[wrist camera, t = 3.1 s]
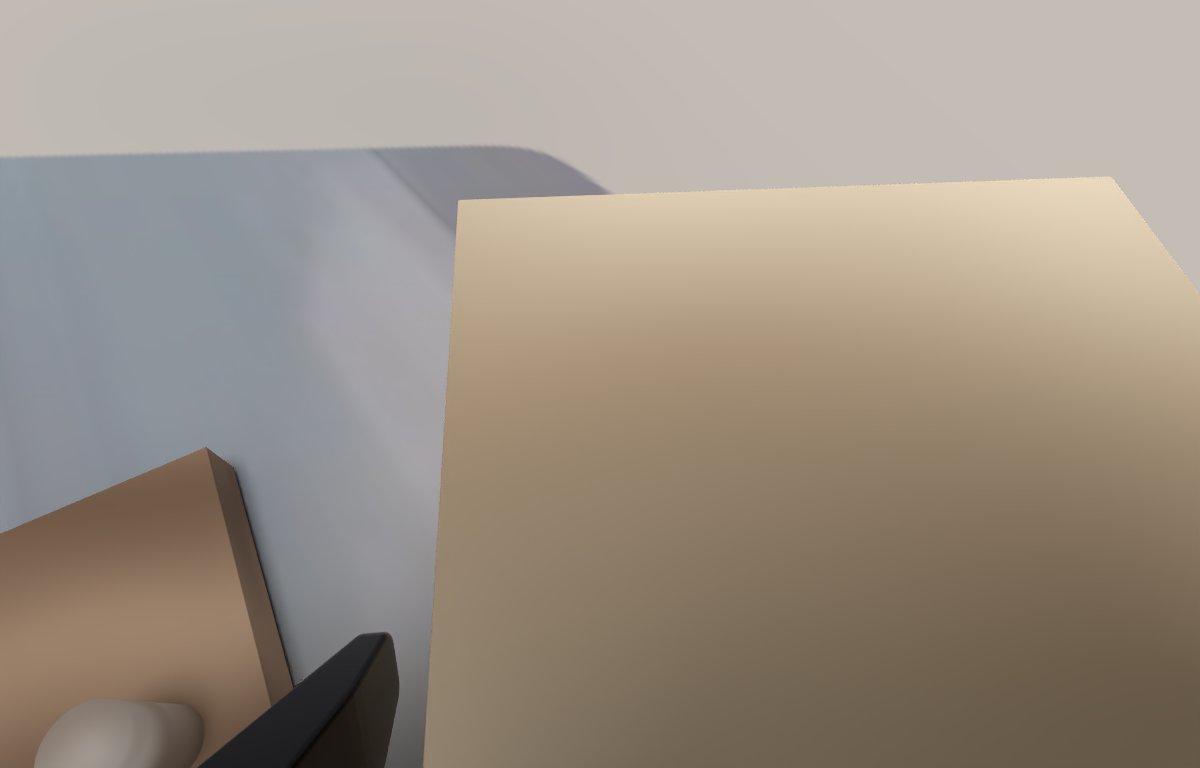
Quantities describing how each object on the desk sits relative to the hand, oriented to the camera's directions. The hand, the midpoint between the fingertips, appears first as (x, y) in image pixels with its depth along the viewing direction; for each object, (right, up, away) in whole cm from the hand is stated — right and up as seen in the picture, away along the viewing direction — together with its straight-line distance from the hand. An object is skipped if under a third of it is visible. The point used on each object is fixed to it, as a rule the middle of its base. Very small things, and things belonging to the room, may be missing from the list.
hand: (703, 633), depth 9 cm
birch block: (0, -4, +7) cm, 8 cm away
